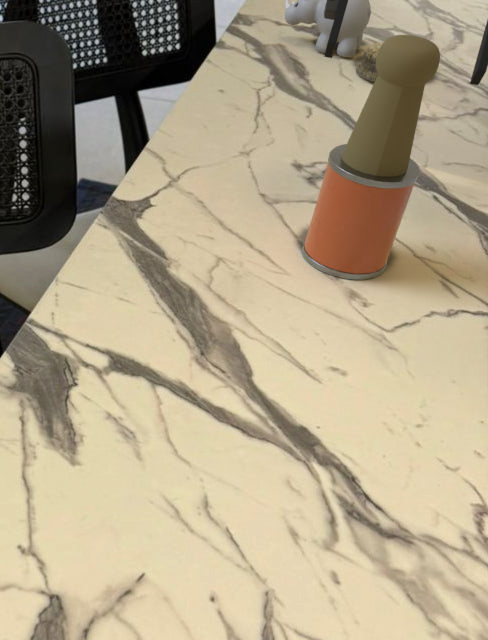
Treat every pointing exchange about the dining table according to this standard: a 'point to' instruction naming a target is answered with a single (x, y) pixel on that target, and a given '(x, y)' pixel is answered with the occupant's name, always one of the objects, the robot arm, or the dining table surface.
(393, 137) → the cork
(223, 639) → the dining table surface
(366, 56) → the cake
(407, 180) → the tin can
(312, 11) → the round bodied animal figurine
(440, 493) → the dining table surface
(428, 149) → the dining table surface
